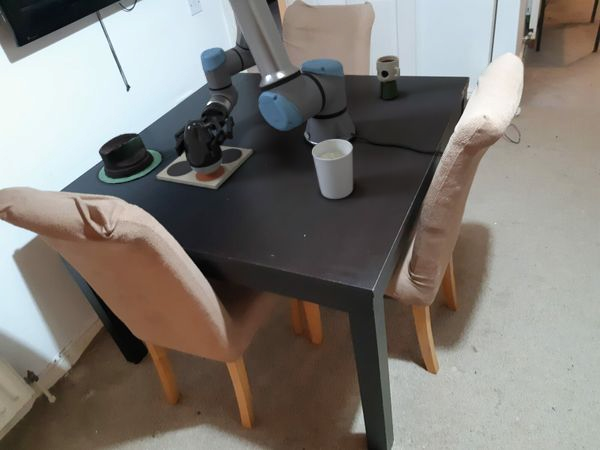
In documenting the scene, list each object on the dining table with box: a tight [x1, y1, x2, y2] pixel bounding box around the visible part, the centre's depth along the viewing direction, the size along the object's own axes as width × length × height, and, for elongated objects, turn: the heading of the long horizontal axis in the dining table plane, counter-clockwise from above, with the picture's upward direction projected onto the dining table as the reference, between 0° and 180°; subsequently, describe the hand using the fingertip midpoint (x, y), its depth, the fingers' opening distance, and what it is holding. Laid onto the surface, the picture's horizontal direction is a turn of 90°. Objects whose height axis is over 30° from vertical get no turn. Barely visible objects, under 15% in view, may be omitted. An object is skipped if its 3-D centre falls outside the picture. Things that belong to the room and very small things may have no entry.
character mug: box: [375, 55, 401, 100], centre depth 147 cm, size 11×7×13 cm, turn 34°
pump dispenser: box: [184, 118, 223, 174], centre depth 121 cm, size 10×10×15 cm
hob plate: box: [155, 145, 254, 190], centre depth 133 cm, size 22×20×1 cm
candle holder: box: [311, 139, 354, 200], centre depth 109 cm, size 10×10×12 cm
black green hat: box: [98, 132, 162, 184], centre depth 138 cm, size 15×19×20 cm
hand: (195, 150), depth 117 cm, fingers closed on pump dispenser, 9 cm apart
